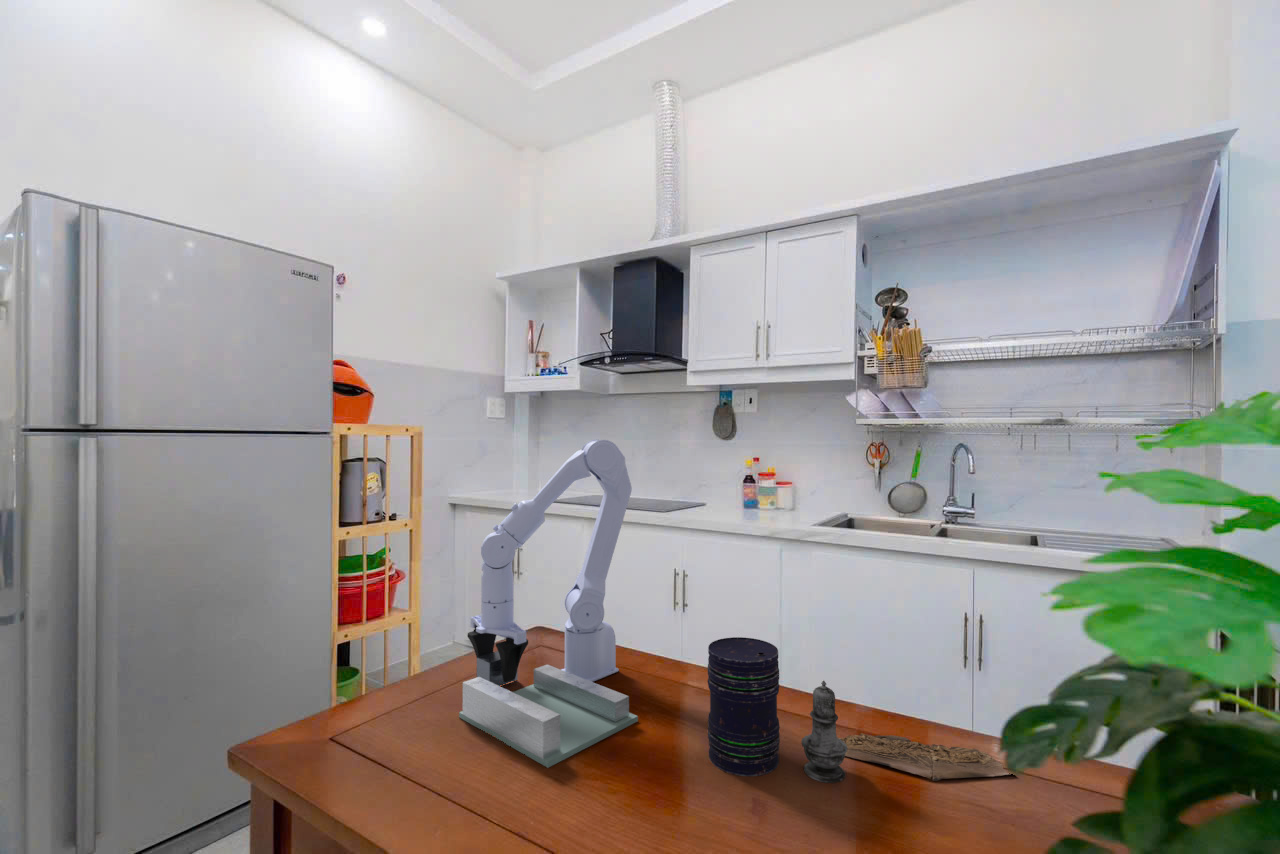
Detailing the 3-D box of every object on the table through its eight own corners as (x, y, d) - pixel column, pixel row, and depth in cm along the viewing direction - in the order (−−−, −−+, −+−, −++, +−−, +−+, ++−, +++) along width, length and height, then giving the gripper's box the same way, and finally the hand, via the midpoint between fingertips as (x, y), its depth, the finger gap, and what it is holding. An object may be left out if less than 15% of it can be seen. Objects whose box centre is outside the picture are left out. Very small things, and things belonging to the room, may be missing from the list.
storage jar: (693, 757, 84) (693, 649, 84) (733, 732, 91) (733, 632, 91) (755, 785, 77) (754, 667, 77) (793, 756, 84) (792, 648, 84)
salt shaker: (824, 788, 76) (823, 693, 77) (792, 766, 82) (791, 676, 82) (857, 776, 79) (856, 684, 79) (824, 755, 84) (824, 669, 84)
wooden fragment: (1005, 756, 85) (1005, 749, 85) (1026, 801, 74) (1026, 792, 74) (814, 728, 93) (814, 721, 93) (809, 764, 83) (809, 756, 83)
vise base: (547, 683, 109) (547, 650, 109) (637, 721, 95) (637, 683, 95) (459, 717, 96) (459, 680, 96) (547, 767, 81) (547, 724, 81)
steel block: (504, 675, 113) (504, 648, 113) (517, 681, 110) (517, 653, 111) (476, 685, 109) (476, 657, 109) (489, 691, 106) (489, 663, 106)
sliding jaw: (547, 681, 108) (547, 664, 108) (628, 715, 95) (628, 696, 95) (533, 686, 106) (533, 669, 106) (615, 722, 92) (615, 702, 92)
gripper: (456, 596, 112) (455, 670, 111) (502, 611, 102) (502, 692, 102) (488, 589, 117) (488, 660, 117) (535, 603, 107) (535, 680, 107)
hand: (497, 674), depth 110 cm, fingers open, 7 cm apart
